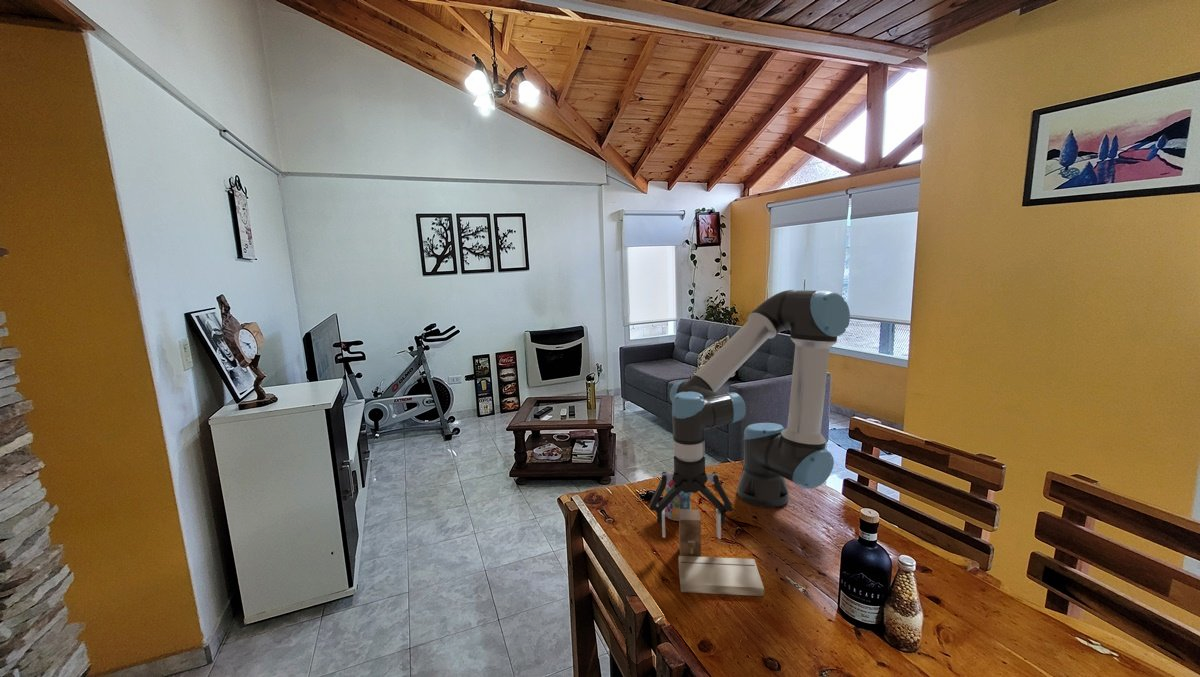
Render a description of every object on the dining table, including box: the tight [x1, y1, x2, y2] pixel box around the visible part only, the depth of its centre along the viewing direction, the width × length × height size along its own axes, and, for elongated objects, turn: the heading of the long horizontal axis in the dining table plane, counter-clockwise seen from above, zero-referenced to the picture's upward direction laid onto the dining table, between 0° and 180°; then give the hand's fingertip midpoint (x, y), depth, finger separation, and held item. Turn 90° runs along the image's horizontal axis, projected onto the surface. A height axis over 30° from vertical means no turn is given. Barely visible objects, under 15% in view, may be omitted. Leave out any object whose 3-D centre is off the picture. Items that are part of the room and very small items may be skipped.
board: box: [677, 555, 765, 597], centre depth 105 cm, size 18×10×2 cm, turn 83°
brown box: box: [678, 508, 702, 557], centre depth 111 cm, size 5×9×11 cm, turn 173°
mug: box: [664, 480, 692, 522], centre depth 132 cm, size 12×9×11 cm
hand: (691, 535), depth 113 cm, fingers open, 13 cm apart
